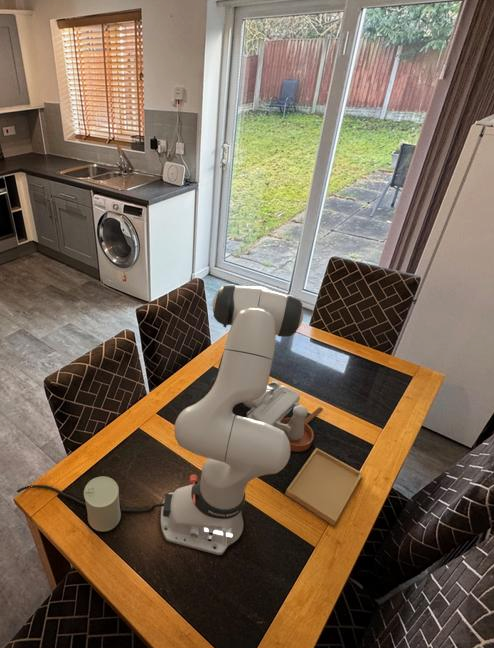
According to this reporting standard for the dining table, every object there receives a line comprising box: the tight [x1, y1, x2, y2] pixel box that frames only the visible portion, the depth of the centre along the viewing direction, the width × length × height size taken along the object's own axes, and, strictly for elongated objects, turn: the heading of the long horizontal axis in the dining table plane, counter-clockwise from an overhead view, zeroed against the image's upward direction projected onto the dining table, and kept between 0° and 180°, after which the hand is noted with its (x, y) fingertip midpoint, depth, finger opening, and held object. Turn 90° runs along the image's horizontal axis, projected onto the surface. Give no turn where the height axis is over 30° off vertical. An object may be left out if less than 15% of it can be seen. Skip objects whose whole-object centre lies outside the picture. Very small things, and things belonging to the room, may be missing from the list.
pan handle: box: [304, 406, 324, 425], centre depth 138 cm, size 11×1×1 cm, turn 130°
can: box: [83, 475, 122, 532], centre depth 108 cm, size 9×9×12 cm
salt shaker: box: [285, 404, 309, 441], centre depth 130 cm, size 6×6×13 cm
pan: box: [280, 417, 315, 453], centre depth 133 cm, size 12×12×3 cm
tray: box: [284, 447, 364, 527], centre depth 118 cm, size 20×14×2 cm
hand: (298, 421), depth 129 cm, fingers open, 8 cm apart
